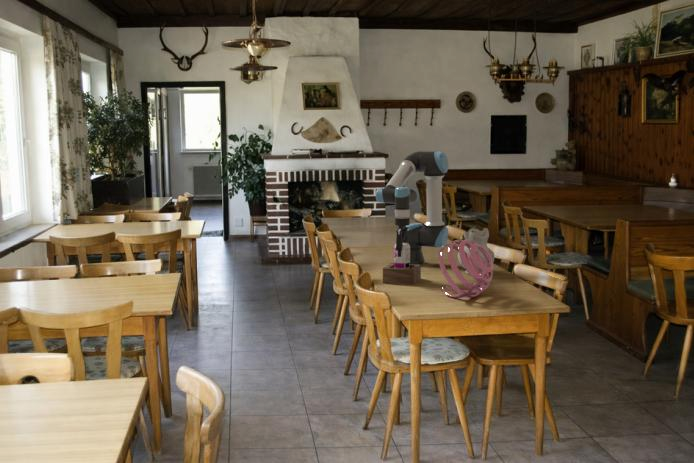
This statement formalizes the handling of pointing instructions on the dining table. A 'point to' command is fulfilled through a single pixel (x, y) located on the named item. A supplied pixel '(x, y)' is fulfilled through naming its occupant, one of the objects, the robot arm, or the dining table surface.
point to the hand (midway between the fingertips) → (402, 261)
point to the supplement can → (405, 257)
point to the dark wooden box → (402, 274)
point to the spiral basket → (467, 268)
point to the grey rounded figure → (480, 239)
